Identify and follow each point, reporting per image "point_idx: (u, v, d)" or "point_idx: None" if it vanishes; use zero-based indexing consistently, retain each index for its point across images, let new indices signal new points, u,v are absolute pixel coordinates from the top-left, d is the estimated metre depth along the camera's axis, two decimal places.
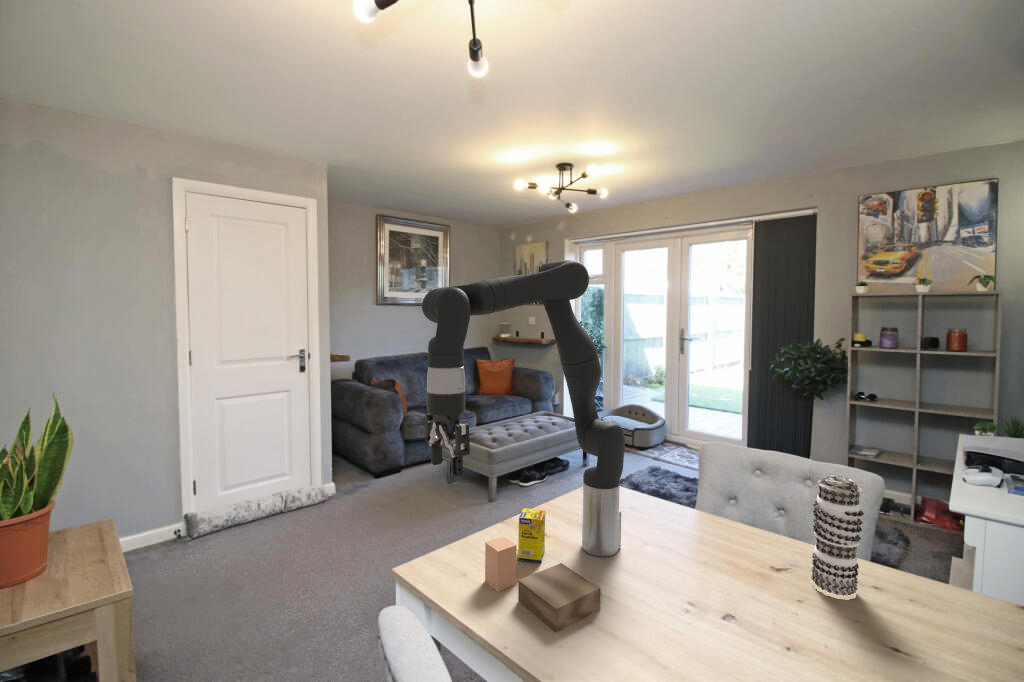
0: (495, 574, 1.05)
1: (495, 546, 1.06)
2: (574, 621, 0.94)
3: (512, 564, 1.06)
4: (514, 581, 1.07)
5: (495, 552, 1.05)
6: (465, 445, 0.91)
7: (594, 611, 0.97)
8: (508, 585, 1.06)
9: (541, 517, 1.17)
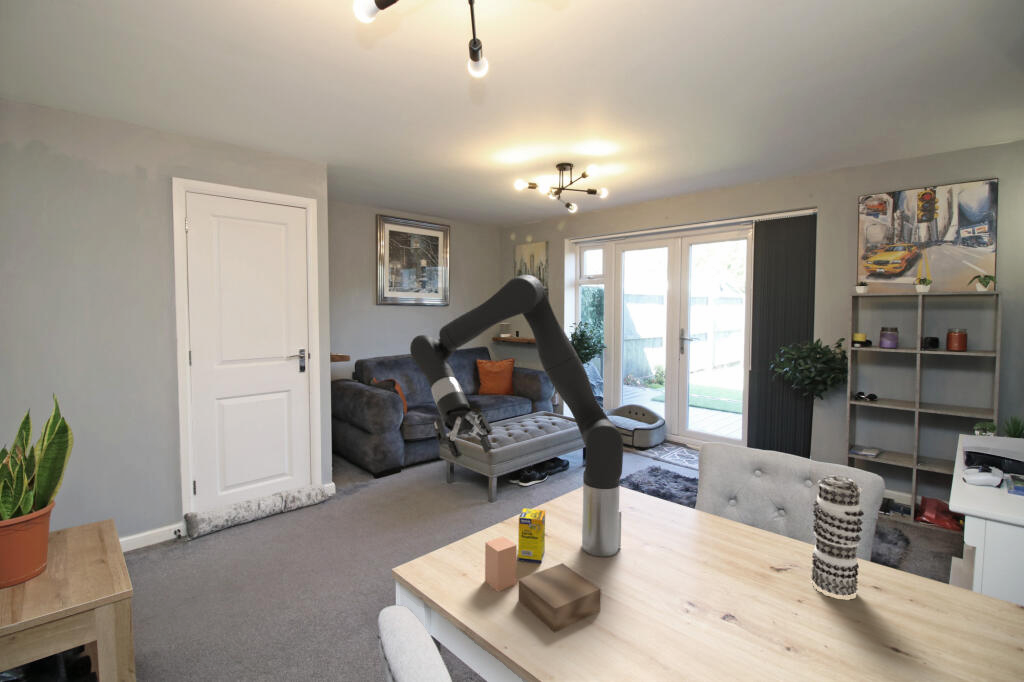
0: (495, 574, 1.05)
1: (495, 546, 1.06)
2: (573, 621, 0.94)
3: (512, 564, 1.06)
4: (514, 581, 1.07)
5: (495, 552, 1.05)
6: None
7: (594, 612, 0.97)
8: (508, 585, 1.06)
9: (541, 517, 1.17)
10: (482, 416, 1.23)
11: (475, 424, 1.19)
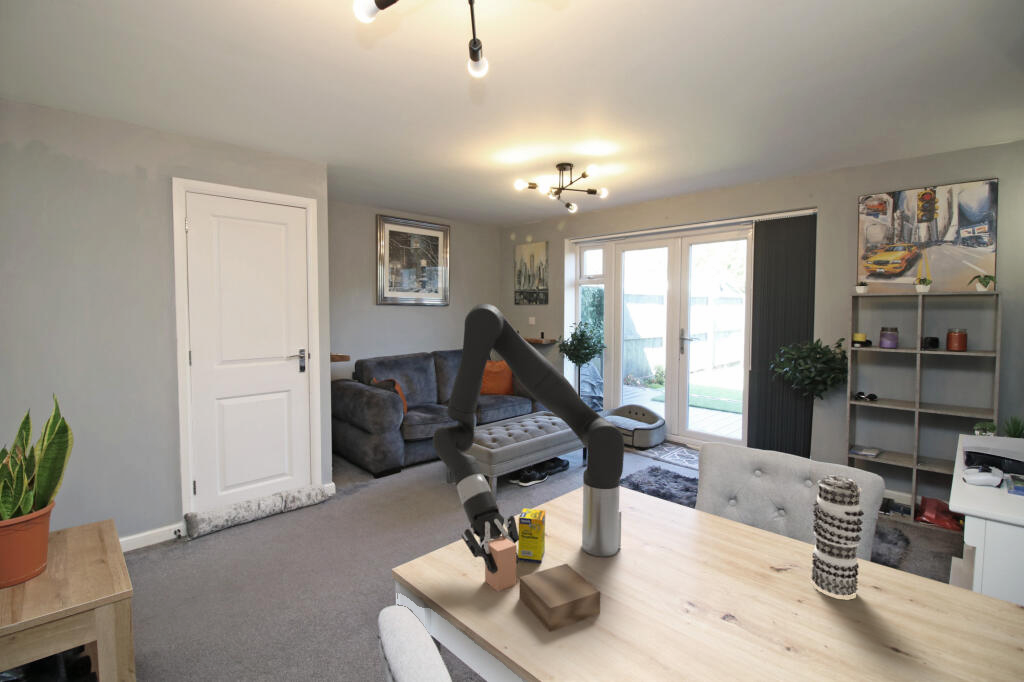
0: (495, 574, 1.05)
1: (495, 546, 1.06)
2: (570, 622, 0.94)
3: (512, 564, 1.06)
4: (514, 581, 1.07)
5: (495, 552, 1.05)
6: None
7: (593, 614, 0.96)
8: (508, 585, 1.06)
9: (541, 517, 1.17)
10: (512, 520, 1.14)
11: (503, 530, 1.10)
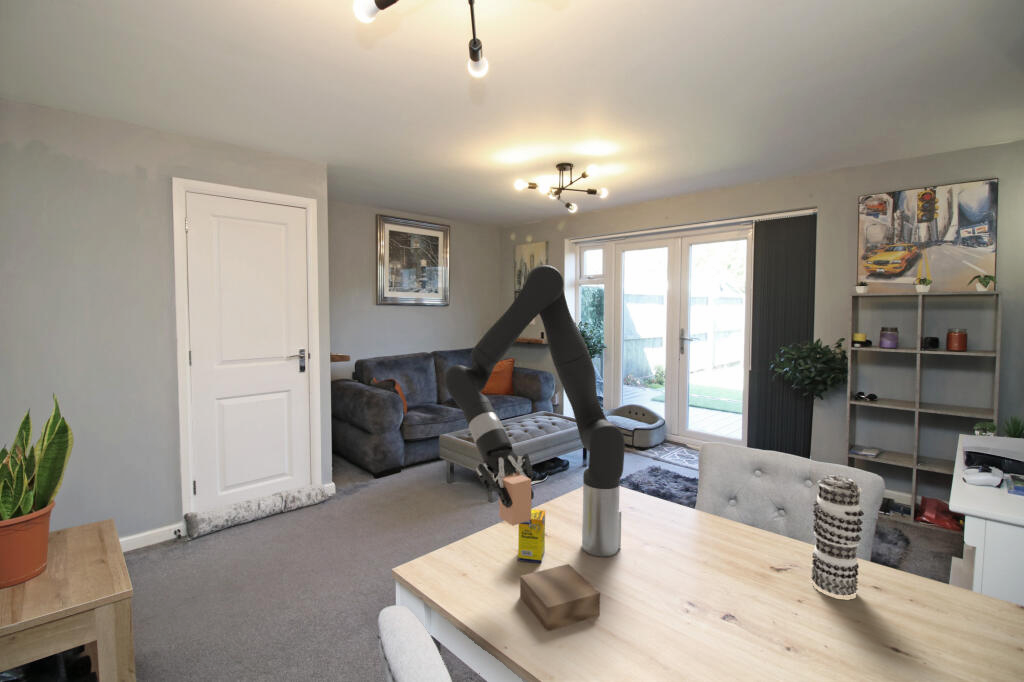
0: (510, 508, 1.02)
1: (509, 480, 1.03)
2: (569, 622, 0.94)
3: (526, 499, 1.04)
4: (529, 516, 1.04)
5: (509, 486, 1.02)
6: None
7: (592, 615, 0.96)
8: (523, 520, 1.03)
9: (541, 517, 1.17)
10: (526, 458, 1.11)
11: (517, 467, 1.07)
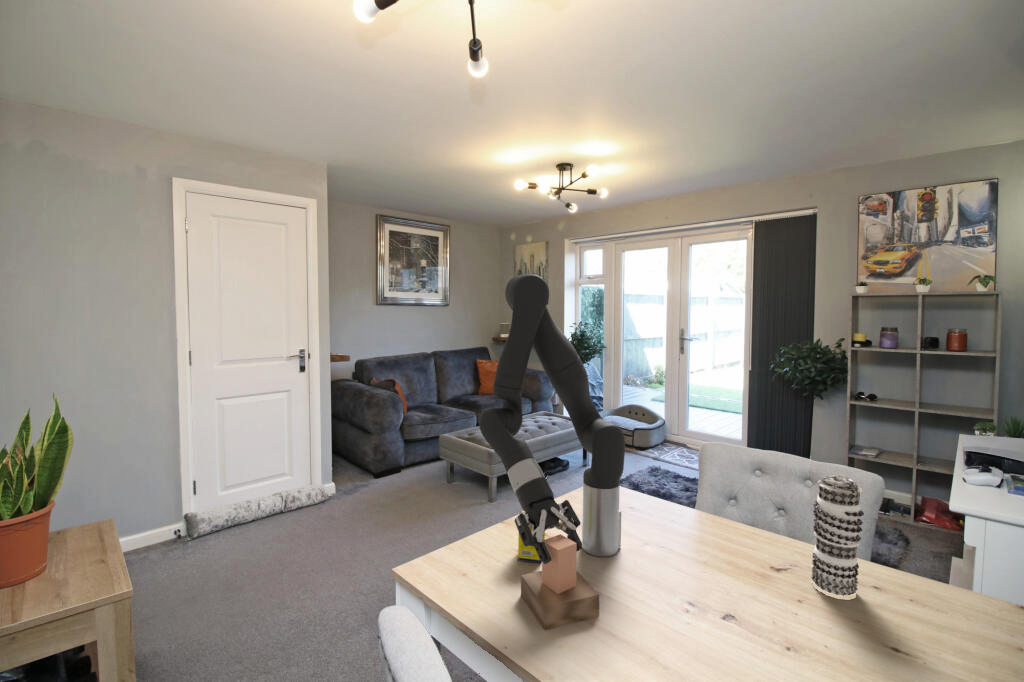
0: (555, 575, 0.96)
1: (553, 544, 0.98)
2: (567, 623, 0.94)
3: (572, 564, 0.98)
4: (574, 583, 0.98)
5: (554, 551, 0.96)
6: None
7: (591, 617, 0.96)
8: (568, 587, 0.97)
9: None
10: (568, 505, 1.06)
11: (562, 517, 1.02)
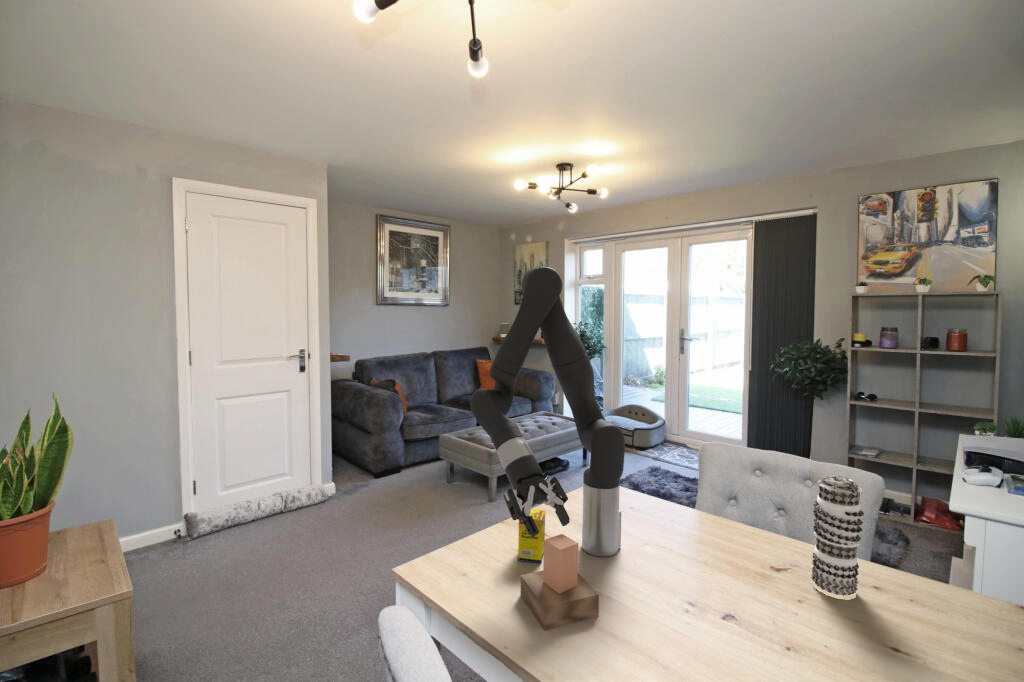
0: (557, 574, 0.96)
1: (555, 544, 0.98)
2: (566, 623, 0.94)
3: (573, 564, 0.98)
4: (575, 582, 0.99)
5: (556, 550, 0.96)
6: None
7: (591, 617, 0.96)
8: (569, 587, 0.98)
9: (541, 517, 1.17)
10: (556, 481, 1.09)
11: (550, 493, 1.05)
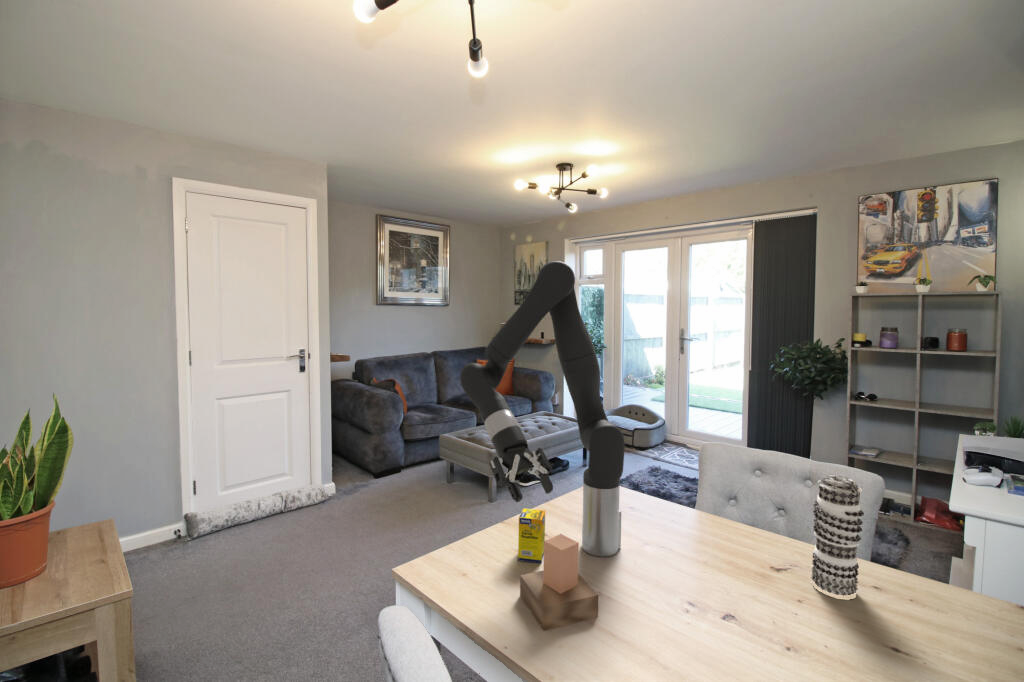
0: (558, 575, 0.96)
1: (556, 544, 0.97)
2: (566, 623, 0.93)
3: (574, 564, 0.98)
4: (576, 582, 0.99)
5: (557, 551, 0.96)
6: None
7: (590, 617, 0.95)
8: (570, 586, 0.98)
9: (541, 517, 1.17)
10: (541, 452, 1.13)
11: (534, 462, 1.09)
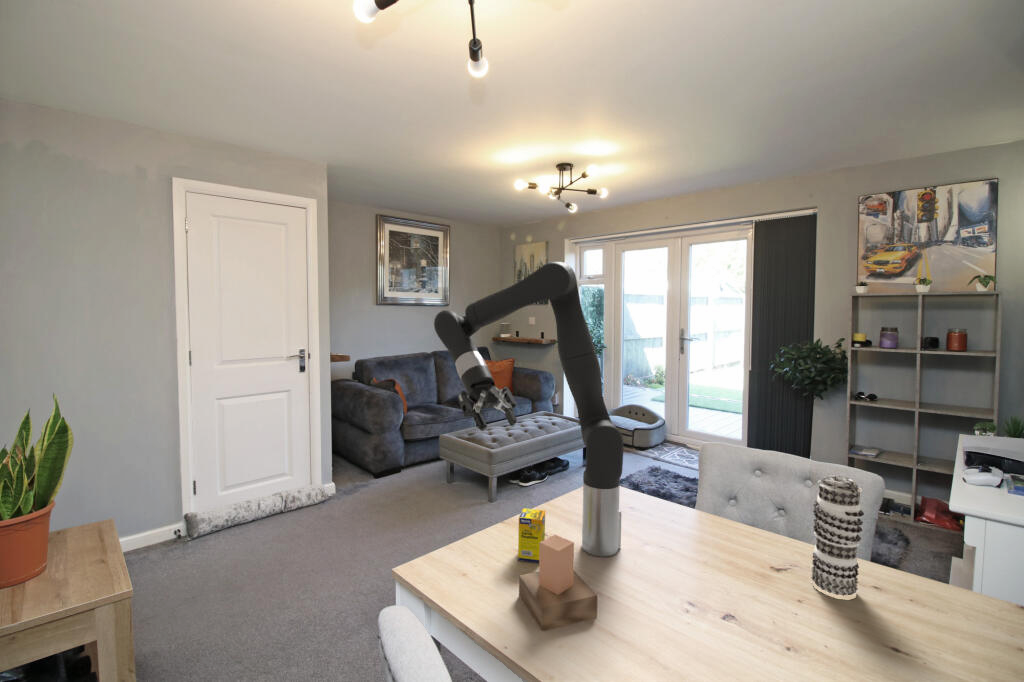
0: (555, 576, 0.96)
1: (552, 545, 0.97)
2: (564, 624, 0.93)
3: (570, 564, 0.98)
4: (572, 582, 0.99)
5: (554, 552, 0.96)
6: None
7: (589, 617, 0.95)
8: (567, 587, 0.98)
9: (541, 517, 1.17)
10: (507, 390, 1.21)
11: (500, 397, 1.18)
